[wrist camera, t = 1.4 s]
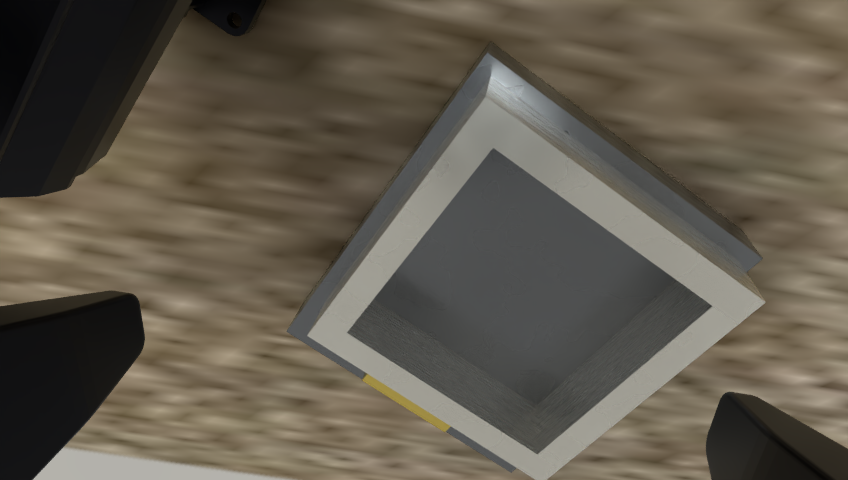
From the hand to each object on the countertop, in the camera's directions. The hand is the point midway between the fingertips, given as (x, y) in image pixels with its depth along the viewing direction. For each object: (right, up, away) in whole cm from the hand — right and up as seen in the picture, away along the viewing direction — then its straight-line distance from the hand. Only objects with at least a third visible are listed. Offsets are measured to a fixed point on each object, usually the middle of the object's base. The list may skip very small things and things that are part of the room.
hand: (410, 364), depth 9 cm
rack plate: (+3, +1, +14) cm, 14 cm away
